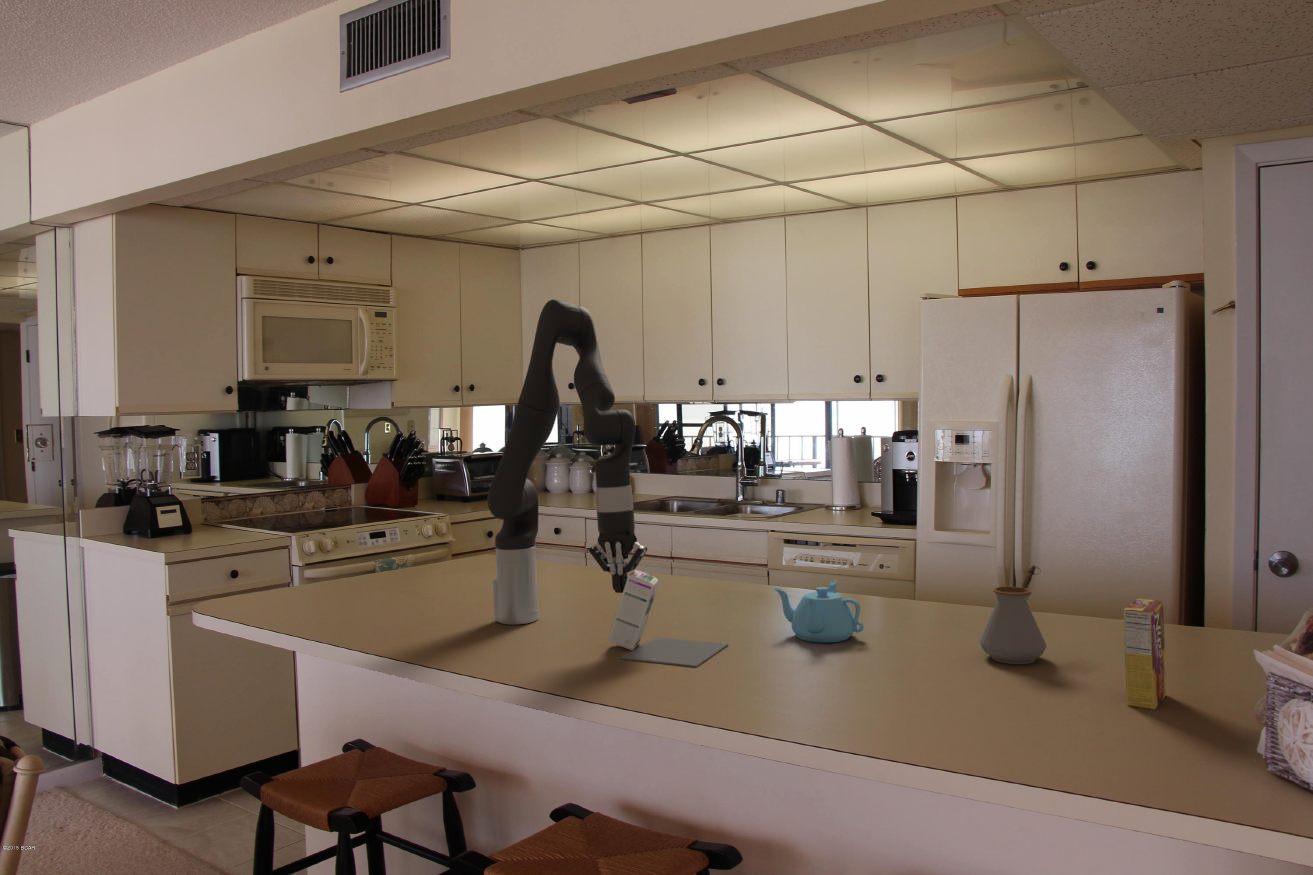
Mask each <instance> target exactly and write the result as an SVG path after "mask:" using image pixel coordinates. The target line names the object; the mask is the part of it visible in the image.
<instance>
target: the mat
mask: <svg viewBox="0 0 1313 875" xmlns="http://www.w3.org/2000/svg"><path fill="white" fill-rule="evenodd" d="M726 646H727V647H729V643H723V642H722V643H721V642H710V641H700V640H689V639H681V638H680V639H679V638H667V637H660V636H658V637H655V638H652V639H651V640H650V641H648V642H647V643H644V644H643V645H641V646H639V647H638V648H637V647H636V648H634V650H633V651H632V650H631V652H628V653H627V654H624V655H623V656H621V657H620V660H625V661H626V660H627V661H634V662H643V663H652V664H662V665H673V666H681V667H690V668H698V667H699V666H701V665H702V664H704V663H705V662H706V661H708V660H709V659H711V658H713V657H714V656H716V655H717V654H718V653H719V651H720V652H721V651H722V650H724V649H726V648H727V647H726ZM716 653H717V654H716ZM703 662H704V663H703ZM700 664H701V665H700Z"/></svg>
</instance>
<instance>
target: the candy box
mask: <svg viewBox="0 0 1313 875" xmlns="http://www.w3.org/2000/svg"><path fill="white" fill-rule="evenodd" d="M1123 633H1124V635H1123V636H1124V660H1125V662H1124V663H1125V664H1124V665H1125V685H1126V686H1125V687H1126V688H1125V689H1126V705H1127V706H1128V707H1134V708H1140V709H1147V710H1156V709H1157V707H1158V706H1159V705H1160V704H1161V703H1162V701H1163V700H1164V699H1165V697H1167V696H1166V695H1167V694H1168V691H1167V671H1166V670H1167V668H1166V667H1167V666H1166V648H1165V644H1166V643H1165V622H1164V601H1163V600H1154V599H1144V598H1136V599H1134V601H1133V602H1131V603H1130V604H1129V605H1128V606H1127V607H1125V608H1124V609H1123Z"/></svg>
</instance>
